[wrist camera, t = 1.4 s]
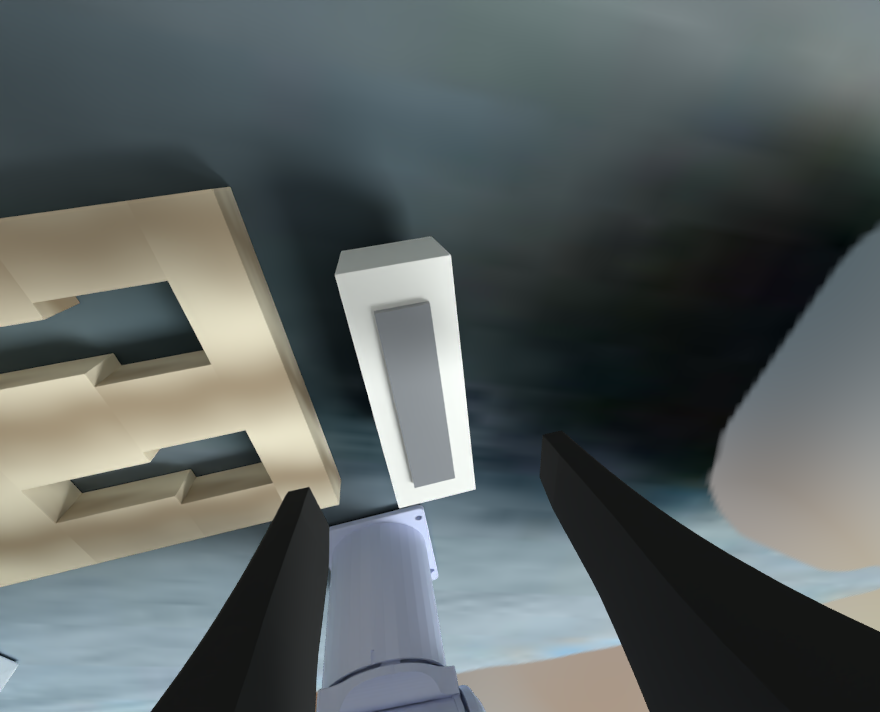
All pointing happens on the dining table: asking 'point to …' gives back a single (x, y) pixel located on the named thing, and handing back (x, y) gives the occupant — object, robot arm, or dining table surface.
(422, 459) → the white and grey block
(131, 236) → the keyhole board
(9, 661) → the tea box
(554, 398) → the dining table surface
